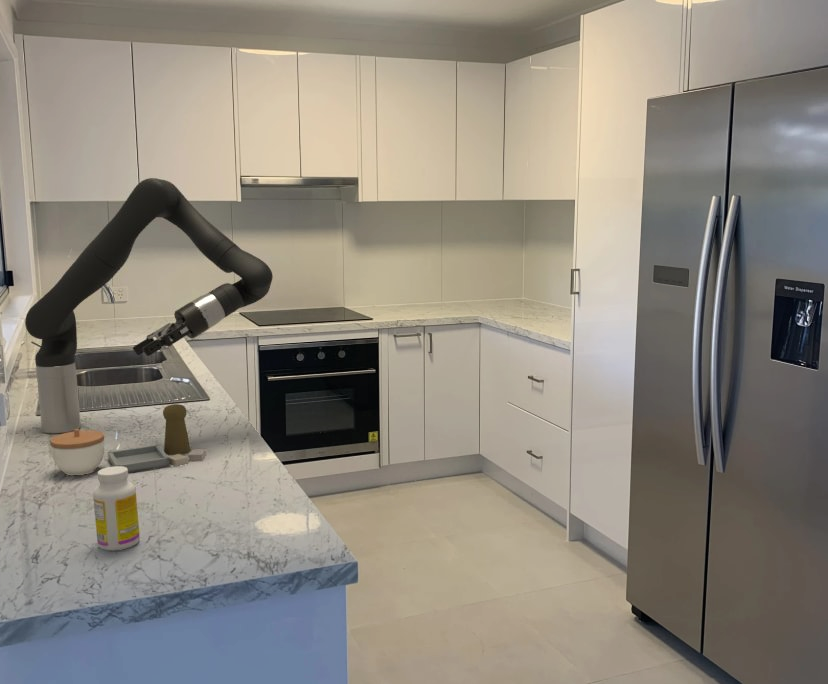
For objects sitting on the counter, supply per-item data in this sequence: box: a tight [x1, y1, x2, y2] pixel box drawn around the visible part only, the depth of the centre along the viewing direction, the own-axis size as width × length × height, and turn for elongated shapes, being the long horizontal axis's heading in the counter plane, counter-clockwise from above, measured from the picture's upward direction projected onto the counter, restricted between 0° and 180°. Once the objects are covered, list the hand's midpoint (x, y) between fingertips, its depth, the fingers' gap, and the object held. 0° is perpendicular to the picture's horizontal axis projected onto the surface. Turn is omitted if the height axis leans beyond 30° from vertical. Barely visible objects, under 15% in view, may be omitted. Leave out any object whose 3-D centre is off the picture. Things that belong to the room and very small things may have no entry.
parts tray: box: [107, 444, 171, 475], centre depth 178 cm, size 12×11×2 cm
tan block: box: [167, 454, 189, 468], centre depth 178 cm, size 4×3×2 cm
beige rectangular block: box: [187, 448, 207, 462], centre depth 181 cm, size 4×3×2 cm
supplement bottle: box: [92, 466, 141, 552], centre depth 134 cm, size 7×7×13 cm
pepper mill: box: [162, 403, 192, 456], centre depth 186 cm, size 6×6×11 cm
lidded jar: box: [49, 428, 105, 476], centre depth 172 cm, size 11×11×9 cm
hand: (139, 352), depth 180 cm, fingers open, 8 cm apart
